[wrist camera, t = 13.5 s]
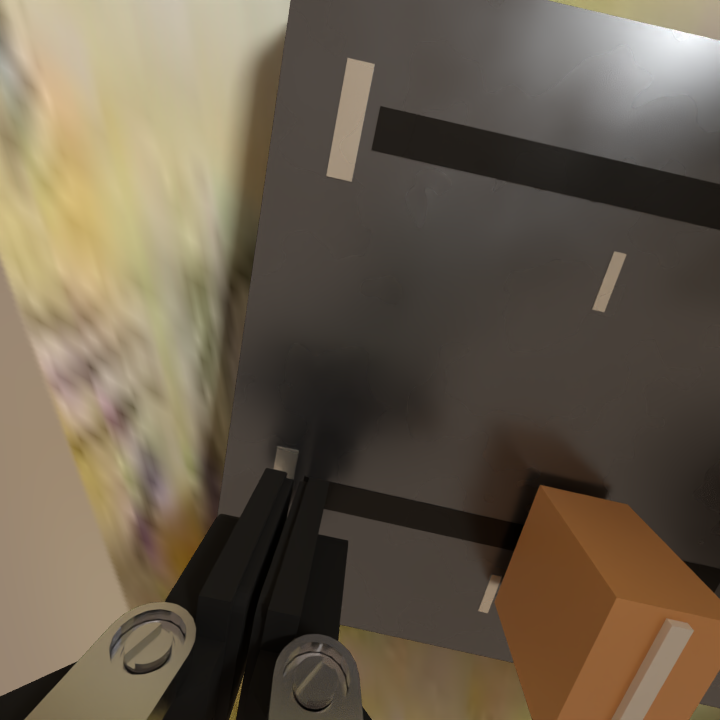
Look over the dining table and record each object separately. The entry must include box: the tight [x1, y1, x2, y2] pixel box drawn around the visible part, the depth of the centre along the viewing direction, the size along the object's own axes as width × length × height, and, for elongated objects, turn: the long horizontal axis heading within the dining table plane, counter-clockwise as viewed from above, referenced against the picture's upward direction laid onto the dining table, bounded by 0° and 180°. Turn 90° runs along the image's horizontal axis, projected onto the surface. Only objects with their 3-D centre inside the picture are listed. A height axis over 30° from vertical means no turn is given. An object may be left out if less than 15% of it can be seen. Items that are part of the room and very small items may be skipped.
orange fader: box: [494, 485, 720, 720], centre depth 9 cm, size 2×4×4 cm, turn 168°
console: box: [217, 0, 720, 708], centre depth 11 cm, size 17×17×2 cm
